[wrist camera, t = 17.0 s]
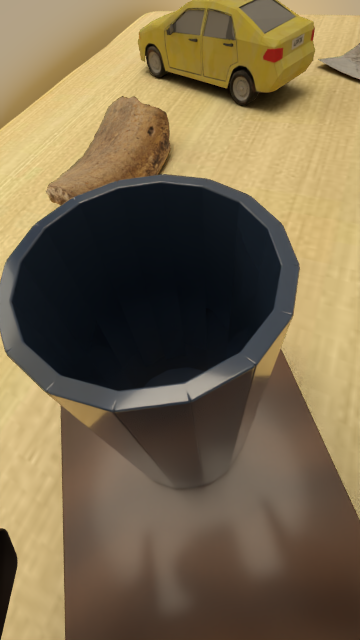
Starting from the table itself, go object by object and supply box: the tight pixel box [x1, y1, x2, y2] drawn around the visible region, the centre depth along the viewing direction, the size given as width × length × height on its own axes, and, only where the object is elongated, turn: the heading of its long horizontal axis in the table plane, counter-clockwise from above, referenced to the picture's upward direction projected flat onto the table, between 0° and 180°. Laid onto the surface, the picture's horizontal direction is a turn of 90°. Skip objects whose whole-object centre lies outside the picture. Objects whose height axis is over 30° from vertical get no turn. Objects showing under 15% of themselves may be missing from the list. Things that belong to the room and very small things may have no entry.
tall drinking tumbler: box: [0, 174, 300, 489], centre depth 13 cm, size 7×7×13 cm
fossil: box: [46, 96, 170, 205], centre depth 37 cm, size 22×6×10 cm
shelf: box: [61, 349, 360, 640], centre depth 18 cm, size 20×14×4 cm
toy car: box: [138, 0, 315, 106], centre depth 47 cm, size 12×28×10 cm, turn 46°
